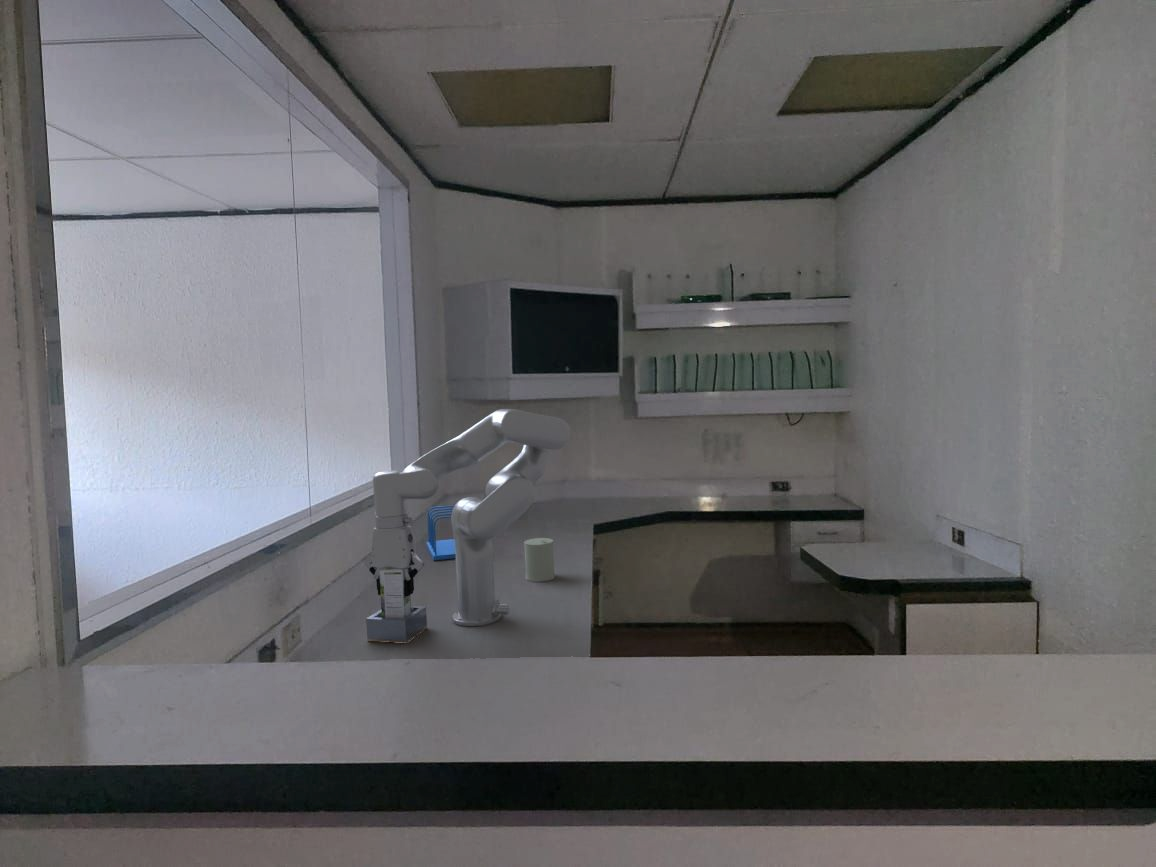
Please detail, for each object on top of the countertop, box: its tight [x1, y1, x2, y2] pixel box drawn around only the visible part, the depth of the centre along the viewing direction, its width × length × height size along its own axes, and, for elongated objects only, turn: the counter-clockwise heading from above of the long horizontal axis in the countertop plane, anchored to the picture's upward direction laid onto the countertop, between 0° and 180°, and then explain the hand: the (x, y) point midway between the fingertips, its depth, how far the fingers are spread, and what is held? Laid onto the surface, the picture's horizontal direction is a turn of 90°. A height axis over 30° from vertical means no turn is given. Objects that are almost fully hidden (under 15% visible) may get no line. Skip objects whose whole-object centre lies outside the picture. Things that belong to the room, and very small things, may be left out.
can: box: [523, 537, 556, 583], centre depth 210 cm, size 9×9×12 cm
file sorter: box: [426, 504, 456, 561], centre depth 249 cm, size 25×17×15 cm
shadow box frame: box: [365, 605, 428, 644], centre depth 165 cm, size 10×10×6 cm
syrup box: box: [380, 568, 412, 619], centre depth 165 cm, size 6×6×14 cm
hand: (395, 593), depth 165 cm, fingers closed on syrup box, 6 cm apart
